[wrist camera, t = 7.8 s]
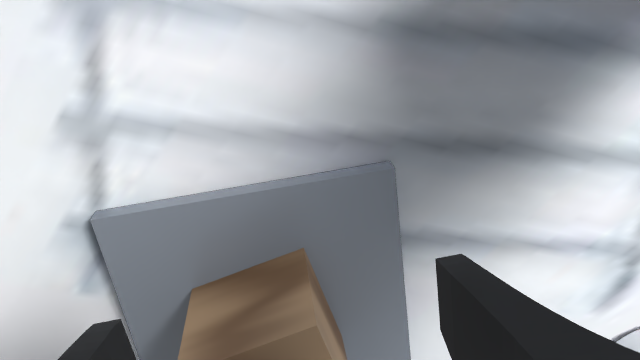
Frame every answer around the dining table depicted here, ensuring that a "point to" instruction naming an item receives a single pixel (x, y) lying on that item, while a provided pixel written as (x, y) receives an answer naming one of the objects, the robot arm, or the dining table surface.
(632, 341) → the pill bottle
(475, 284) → the robot arm
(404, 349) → the slate coaster
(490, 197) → the dining table surface
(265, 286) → the tan cube
